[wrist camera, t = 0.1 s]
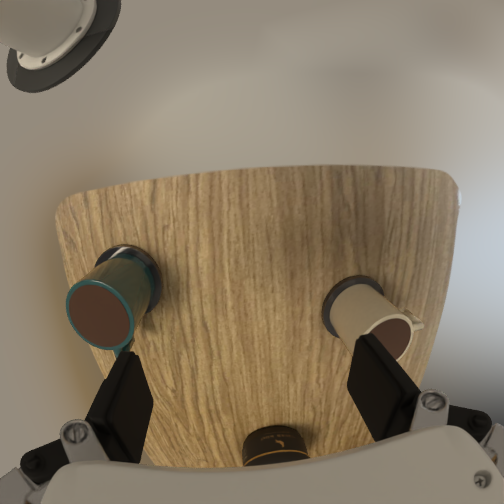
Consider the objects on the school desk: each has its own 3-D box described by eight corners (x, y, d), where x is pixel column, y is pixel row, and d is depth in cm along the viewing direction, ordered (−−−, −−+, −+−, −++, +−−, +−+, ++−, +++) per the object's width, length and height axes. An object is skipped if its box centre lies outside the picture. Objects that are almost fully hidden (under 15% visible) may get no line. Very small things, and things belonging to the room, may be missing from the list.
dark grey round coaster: (323, 278, 29) (326, 280, 29) (385, 272, 30) (389, 274, 29) (318, 340, 32) (320, 343, 31) (376, 330, 32) (379, 333, 31)
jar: (306, 419, 36) (319, 457, 28) (298, 452, 38) (307, 485, 31) (240, 425, 35) (243, 466, 28) (241, 457, 38) (244, 492, 30)
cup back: (326, 338, 31) (350, 378, 23) (331, 286, 29) (361, 320, 22) (393, 326, 31) (424, 358, 24) (402, 278, 30) (440, 305, 22)
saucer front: (90, 246, 26) (86, 248, 25) (157, 241, 27) (156, 243, 26) (104, 313, 28) (101, 316, 28) (168, 313, 29) (167, 316, 28)
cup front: (93, 254, 26) (56, 280, 18) (150, 251, 26) (124, 278, 19) (111, 332, 28) (87, 371, 21) (164, 333, 29) (149, 376, 22)
